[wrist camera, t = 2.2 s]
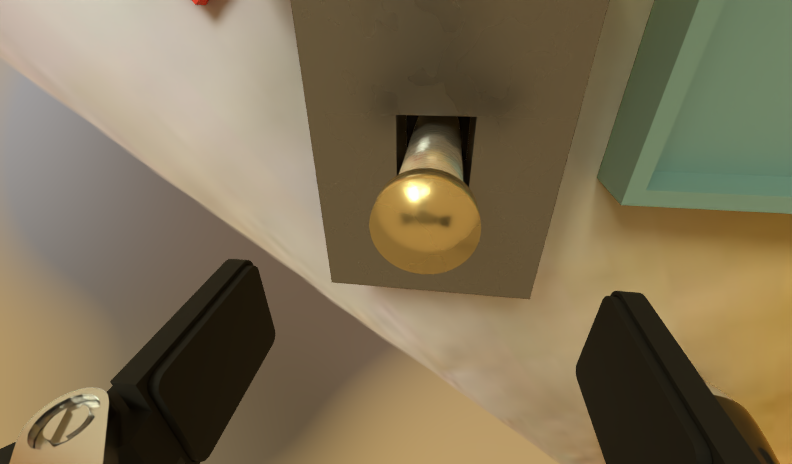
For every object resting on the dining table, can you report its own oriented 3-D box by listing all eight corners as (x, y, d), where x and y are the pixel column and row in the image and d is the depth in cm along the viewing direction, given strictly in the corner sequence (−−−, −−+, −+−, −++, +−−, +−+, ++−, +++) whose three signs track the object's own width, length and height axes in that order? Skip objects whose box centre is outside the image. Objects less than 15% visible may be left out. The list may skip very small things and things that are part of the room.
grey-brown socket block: (317, -59, 19) (279, -80, 15) (590, -71, 17) (635, -98, 13) (348, 244, 29) (331, 282, 25) (517, 256, 28) (529, 299, 24)
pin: (408, 97, 22) (365, 176, 12) (470, 98, 22) (488, 182, 11) (407, 156, 25) (371, 270, 14) (464, 158, 24) (474, 278, 13)
